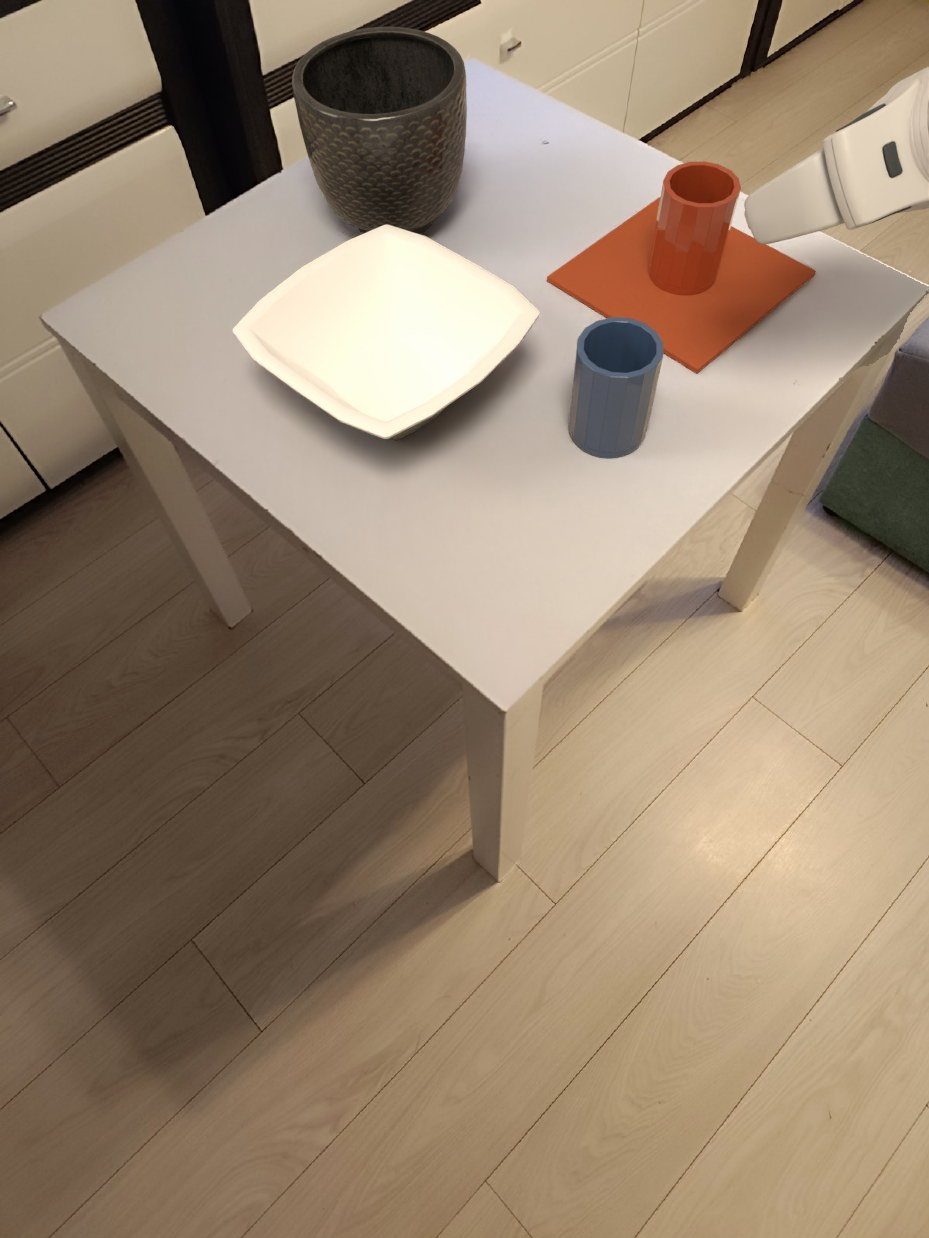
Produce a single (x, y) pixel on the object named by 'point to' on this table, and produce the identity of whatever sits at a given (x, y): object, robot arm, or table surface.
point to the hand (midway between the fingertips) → (793, 197)
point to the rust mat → (683, 322)
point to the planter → (384, 124)
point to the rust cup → (692, 227)
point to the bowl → (386, 330)
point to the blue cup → (614, 386)
